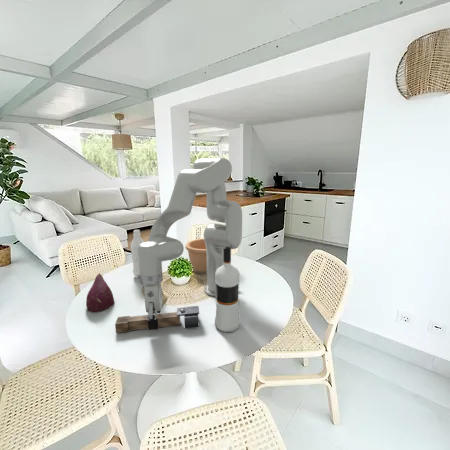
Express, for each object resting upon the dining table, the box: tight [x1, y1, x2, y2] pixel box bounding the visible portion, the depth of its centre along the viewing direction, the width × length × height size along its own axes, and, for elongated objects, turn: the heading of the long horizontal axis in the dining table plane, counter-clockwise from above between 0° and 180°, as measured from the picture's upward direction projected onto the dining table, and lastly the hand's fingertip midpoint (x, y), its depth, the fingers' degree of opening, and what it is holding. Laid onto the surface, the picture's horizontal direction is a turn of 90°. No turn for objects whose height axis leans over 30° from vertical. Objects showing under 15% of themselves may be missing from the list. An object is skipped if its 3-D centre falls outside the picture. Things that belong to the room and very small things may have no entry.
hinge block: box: [176, 305, 200, 330], centre depth 93 cm, size 8×7×6 cm
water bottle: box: [130, 229, 145, 279], centre depth 130 cm, size 7×7×25 cm
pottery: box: [184, 238, 207, 275], centre depth 142 cm, size 22×22×14 cm
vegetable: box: [85, 273, 115, 314], centre depth 105 cm, size 10×10×15 cm
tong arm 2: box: [116, 311, 177, 321], centre depth 92 cm, size 22×2×4 cm, turn 100°
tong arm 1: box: [114, 315, 181, 333], centre depth 90 cm, size 22×2×4 cm, turn 100°
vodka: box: [214, 246, 241, 333], centre depth 89 cm, size 9×9×30 cm
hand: (154, 320), depth 91 cm, fingers open, 9 cm apart
